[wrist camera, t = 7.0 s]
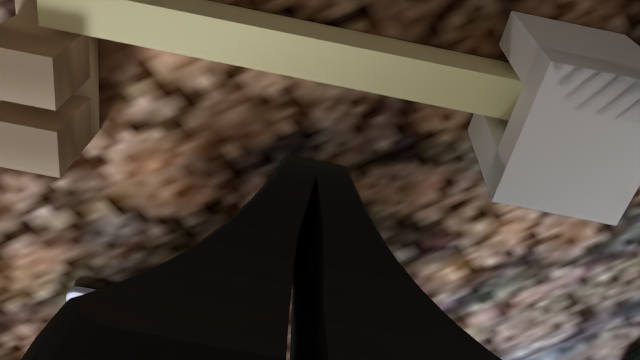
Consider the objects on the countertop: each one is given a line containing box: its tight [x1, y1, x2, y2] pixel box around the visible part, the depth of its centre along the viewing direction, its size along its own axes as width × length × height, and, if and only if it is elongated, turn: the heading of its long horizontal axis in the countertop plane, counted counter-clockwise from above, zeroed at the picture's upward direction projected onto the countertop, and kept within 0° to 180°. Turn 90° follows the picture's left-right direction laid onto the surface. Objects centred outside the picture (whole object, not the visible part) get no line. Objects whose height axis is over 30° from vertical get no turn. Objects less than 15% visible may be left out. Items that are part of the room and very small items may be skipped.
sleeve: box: [467, 11, 640, 225], centre depth 19 cm, size 5×4×5 cm
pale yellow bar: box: [37, 0, 523, 120], centre depth 20 cm, size 1×23×2 cm, turn 79°
